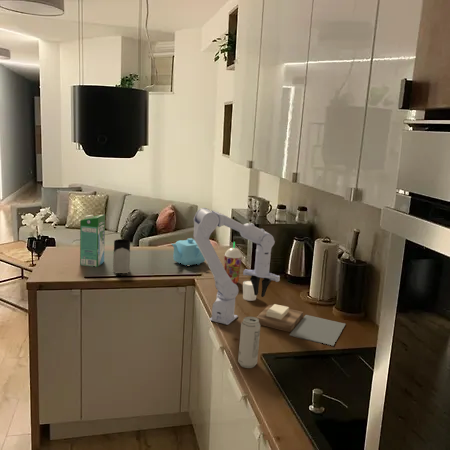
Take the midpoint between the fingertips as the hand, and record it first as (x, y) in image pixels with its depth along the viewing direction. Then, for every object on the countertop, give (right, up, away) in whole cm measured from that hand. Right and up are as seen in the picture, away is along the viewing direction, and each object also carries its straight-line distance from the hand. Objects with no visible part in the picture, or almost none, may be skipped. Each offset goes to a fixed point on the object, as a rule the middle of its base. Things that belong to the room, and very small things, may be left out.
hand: (259, 295), depth 189 cm
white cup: (-3, -4, +20) cm, 21 cm away
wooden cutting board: (+8, -10, -2) cm, 12 cm away
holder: (-65, +6, +47) cm, 80 cm away
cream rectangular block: (+7, -7, -2) cm, 10 cm away
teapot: (-34, +7, +64) cm, 73 cm away
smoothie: (-11, 0, +39) cm, 40 cm away
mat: (+22, -12, -8) cm, 26 cm away
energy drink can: (-7, -16, -38) cm, 42 cm away
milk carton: (-80, +8, +53) cm, 97 cm away
